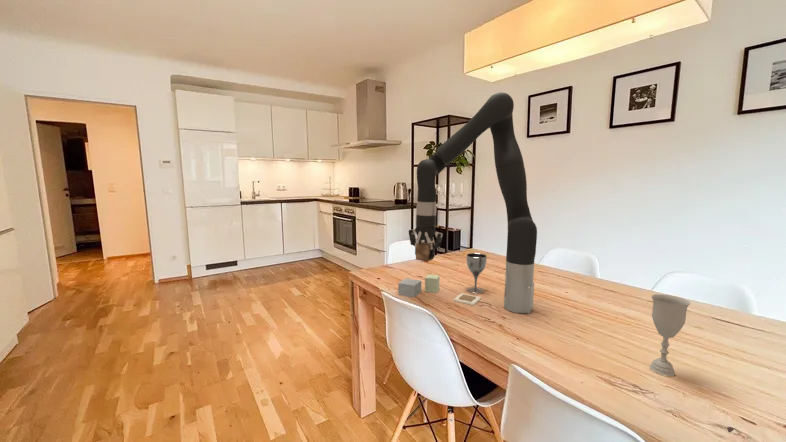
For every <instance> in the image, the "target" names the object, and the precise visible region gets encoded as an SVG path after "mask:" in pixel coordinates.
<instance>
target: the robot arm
mask: <svg viewBox="0 0 786 442" xmlns="http://www.w3.org/2000/svg"><path fill="white" fill-rule="evenodd" d="M514 107H515V103H514V99H513V97H512V96H511V95H509V94H508V93H506V92H497V93H494V94H492V95H490V96H489V98H488V99H487V100H486V102H485V103H484V104H483V105H482V106H481V107H480V109H478V111H477V112H476V113H475V114H474V115H473V116H472V117H471V118H470V120H468V121H467V122H466V123H465V124H464V125H463V126H462V127H461V128H459V129H458V130H457V131H456V132H455V133H454V134H453V135H451V136H450V137H449V138H448V139H446V140H445V141H444V142H443V143H442V144H441V145H440V146H439V147H437V149H436V150H435V151H436V152H434V153H433V154H432V155H431V156H430V157H429V158H428V159H427V158H426V159H422V160H421V161H419V162H418V164H417V166H416V182H417V195H416V197H417V200H416V201H417V203H416V206H415V208H416V211H415V215H416V216H415V229H414V228H412V229H408V237H409V242H410V245H411V246H414V248H415V249H414V255H415V256H416V244H419V243H421V242H424V241H425V242H426V243H428V244H429V245H430V255H429V259H432V260H434V258H435V256H436V255H435V254H436V253H435V252H436V250H437V249H439V248H440V247H441V243H442V240H443V237H444V233H443V232H439V231H437V229H436V226H437V188H436V177H437V176H438V175H439V174H441V172H442V171H443V170H444V169H445V168H446V167H447V166H448V165H449V164H451V163H452V162H454V160H456V159H457V158H458V157H459V156H461V154H463V153H464V152H465V151H466V150H467V149H468V148H469V147H470V146H471V145H472V144H473V143H474V142H475V141H476V140H477V139H478V138H479V137H480V136H481V135H482V134H483V133H484V132H485V131H487V130H488V129H489V130H490V133H491V136H492V137H491V138H492V141H493V155H494V158H493V159H494V166H495V172H496V176H497V181H498V184H499V188H500V191H501V194H502V196H503V200H504V203H505V208H506V218H507V220H506V221H507V237H506V238H507V239H506V254H505V255H506V257H505V258H506V259H505V281H504V296H503V297H504V299H503V307H504V309H505V310H506V311H509V312H512V313H517V314H528V315H529V314H531V312H532V310H533V307H534V295H535V283H534V273H535V272H534V270H535V259H536V254H537V253H536V252H537V243H538V242H537V238H538V228H537V225H536V223H535V222H534V220H533V217H532V213H531V211H530V207H529V203H528V195H527V194H528V193H527V190H528V189H527V186H528V185H527V174H526V173H527V172H526V168H525V163H524V159H523V155H522V151H521V149H520V145H519V144H518V141H517V137H516V135H515V131H514V130H515V127H514V120H513V119H514V118H513V117H514V115H513V113H514ZM434 237H435V239H436V240H435V239H434Z"/></svg>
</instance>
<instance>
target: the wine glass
mask: <svg viewBox="0 0 786 442" xmlns="http://www.w3.org/2000/svg"><path fill="white" fill-rule="evenodd" d="M487 257H488V256H487V254H484V253H479V252H470V253H467V254H466V265H467V268H468V270H469V271H470V273H471V274H472V275H473V279H474V286H473V287H468V288H466V291H467V292H468V293H471V294H483V293H485V290H484V289H482V288H480V287H477V283H478V278H479V276H480V275H481V273H483V272H484V270H485V269H486V266H487Z"/></svg>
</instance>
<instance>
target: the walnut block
mask: <svg viewBox="0 0 786 442" xmlns="http://www.w3.org/2000/svg"><path fill="white" fill-rule="evenodd" d="M429 255H430V245H429V244H428V242H426V241H425V242H424V241H422V242H421V243H419V244H416V255H415V260H416V261H420V262H430V261H432V260H433V259H429Z"/></svg>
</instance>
